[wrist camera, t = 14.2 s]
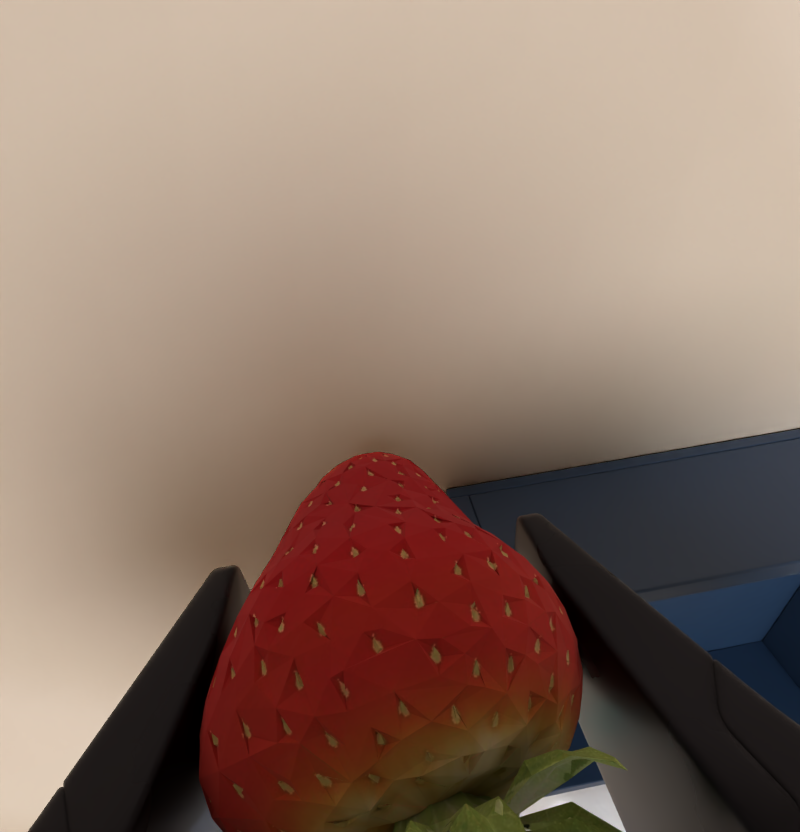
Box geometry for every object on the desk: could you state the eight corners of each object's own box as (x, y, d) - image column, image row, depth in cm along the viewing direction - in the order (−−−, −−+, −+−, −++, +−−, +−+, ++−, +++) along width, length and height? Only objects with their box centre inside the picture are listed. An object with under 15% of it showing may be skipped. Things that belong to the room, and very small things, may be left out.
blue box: (917, 407, 15) (1098, 505, 12) (762, 636, 24) (840, 734, 20) (446, 488, 14) (487, 620, 11) (457, 697, 23) (482, 810, 19)
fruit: (505, 514, 12) (731, 1042, 5) (306, 578, 12) (289, 1144, 6) (459, 341, 9) (854, 1065, 2) (197, 432, 9) (-108, 1282, 3)
